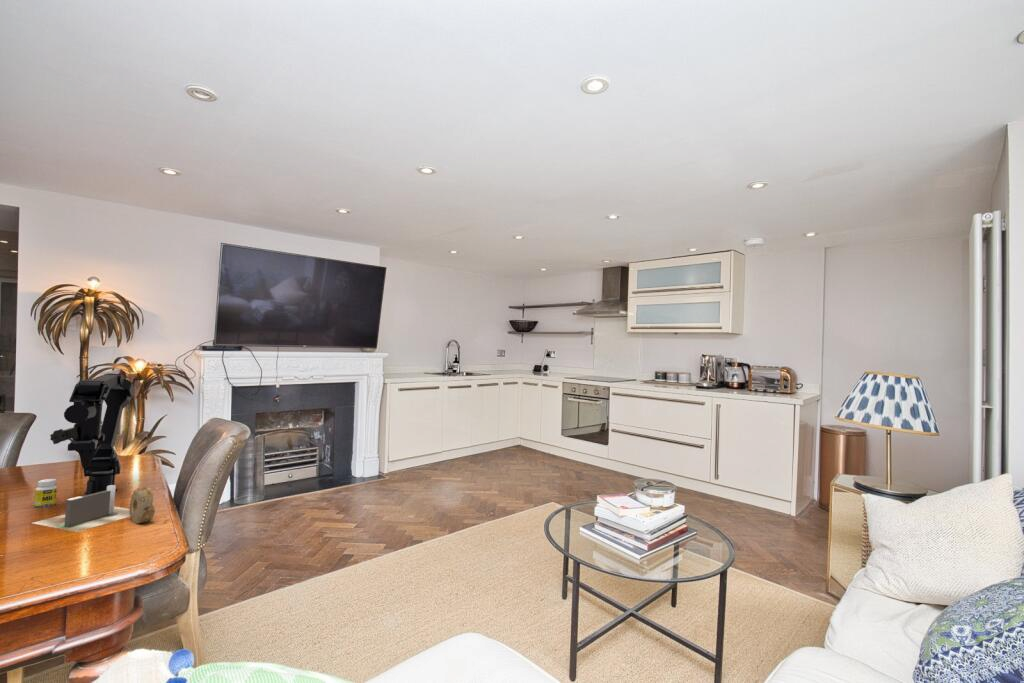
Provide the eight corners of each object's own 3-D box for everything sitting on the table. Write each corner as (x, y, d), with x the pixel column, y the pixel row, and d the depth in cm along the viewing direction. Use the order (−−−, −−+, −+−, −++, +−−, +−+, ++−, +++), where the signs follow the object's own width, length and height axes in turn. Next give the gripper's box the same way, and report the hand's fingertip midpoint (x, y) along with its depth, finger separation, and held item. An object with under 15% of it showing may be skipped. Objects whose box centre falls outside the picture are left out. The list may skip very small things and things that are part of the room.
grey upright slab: (109, 512, 138) (112, 484, 139) (115, 513, 138) (117, 485, 138) (63, 526, 127) (66, 495, 127) (69, 526, 126) (71, 496, 126)
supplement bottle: (40, 510, 139) (43, 483, 140) (29, 509, 140) (31, 481, 141) (59, 506, 144) (61, 479, 144) (47, 504, 145) (50, 477, 145)
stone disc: (125, 520, 135) (128, 486, 135) (140, 517, 138) (143, 483, 138) (139, 528, 129) (141, 493, 130) (154, 525, 132) (157, 490, 133)
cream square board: (102, 506, 145) (102, 504, 145) (145, 513, 141) (145, 511, 141) (31, 525, 128) (31, 522, 128) (77, 534, 124) (77, 531, 124)
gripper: (62, 416, 149) (57, 464, 149) (46, 424, 134) (41, 477, 133) (106, 415, 156) (102, 461, 155) (96, 422, 140) (92, 473, 140)
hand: (85, 468), depth 146 cm, fingers closed
